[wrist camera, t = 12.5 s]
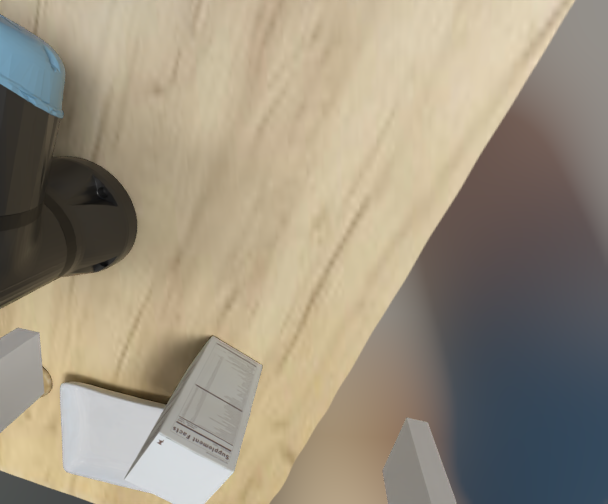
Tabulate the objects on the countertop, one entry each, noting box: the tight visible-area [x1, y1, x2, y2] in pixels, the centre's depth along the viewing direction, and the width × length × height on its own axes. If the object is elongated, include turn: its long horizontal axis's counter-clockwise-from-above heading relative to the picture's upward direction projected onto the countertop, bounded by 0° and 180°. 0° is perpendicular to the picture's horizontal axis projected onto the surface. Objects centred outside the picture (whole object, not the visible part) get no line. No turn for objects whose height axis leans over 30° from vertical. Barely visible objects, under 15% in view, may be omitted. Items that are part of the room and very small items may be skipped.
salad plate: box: [60, 382, 166, 493], centre depth 54 cm, size 21×21×3 cm
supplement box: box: [124, 336, 262, 504], centre depth 41 cm, size 10×9×17 cm
